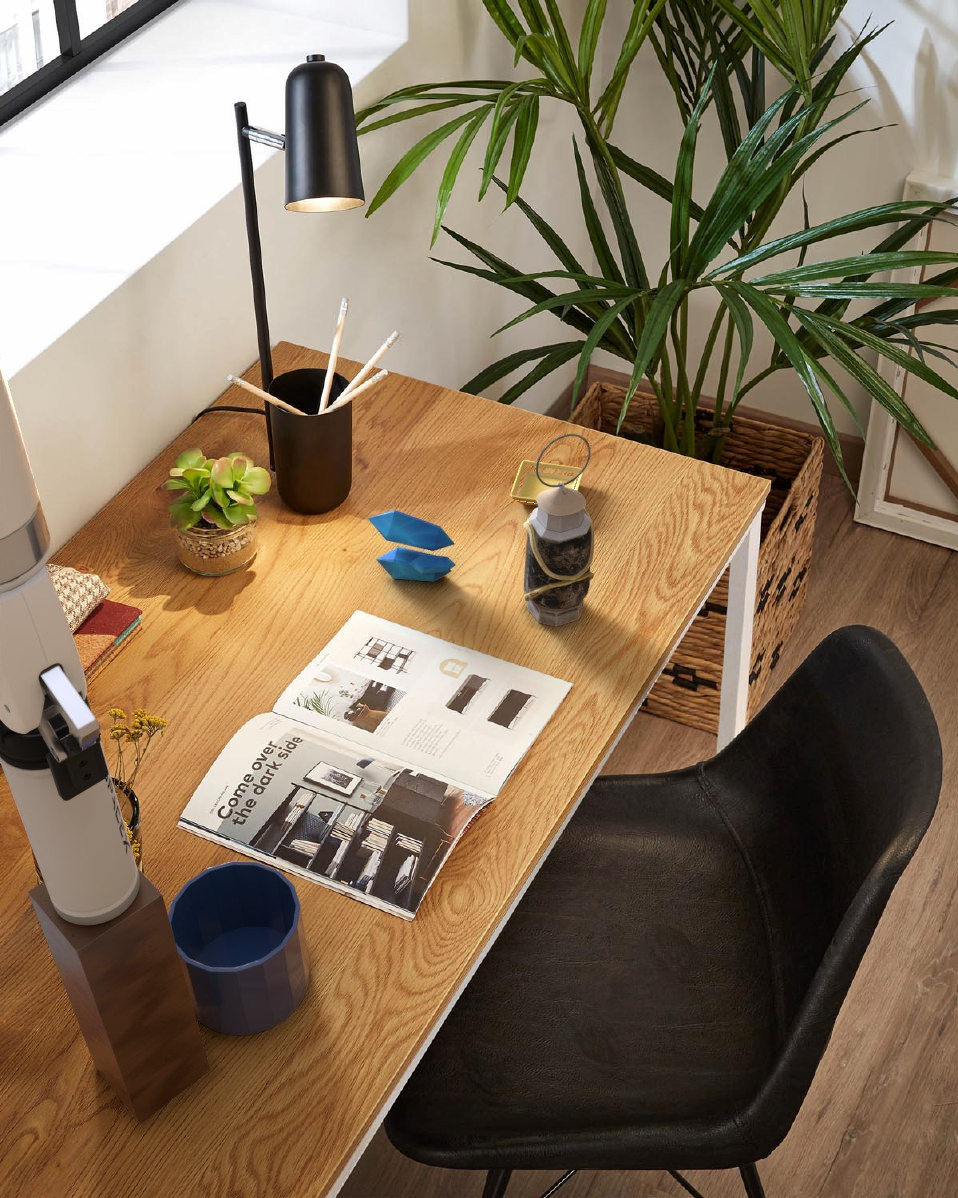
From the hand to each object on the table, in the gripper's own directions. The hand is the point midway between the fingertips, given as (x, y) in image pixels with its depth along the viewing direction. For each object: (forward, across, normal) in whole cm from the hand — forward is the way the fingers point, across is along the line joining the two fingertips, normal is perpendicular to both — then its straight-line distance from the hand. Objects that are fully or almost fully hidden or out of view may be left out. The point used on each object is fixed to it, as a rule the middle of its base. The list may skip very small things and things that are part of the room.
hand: (45, 744), depth 82 cm
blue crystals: (+41, -34, +60) cm, 81 cm away
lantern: (+41, -18, +68) cm, 81 cm away
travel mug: (+16, 0, 0) cm, 16 cm away
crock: (+41, -2, +11) cm, 42 cm away
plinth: (+41, 0, 0) cm, 41 cm away
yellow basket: (+41, -34, +84) cm, 100 cm away
